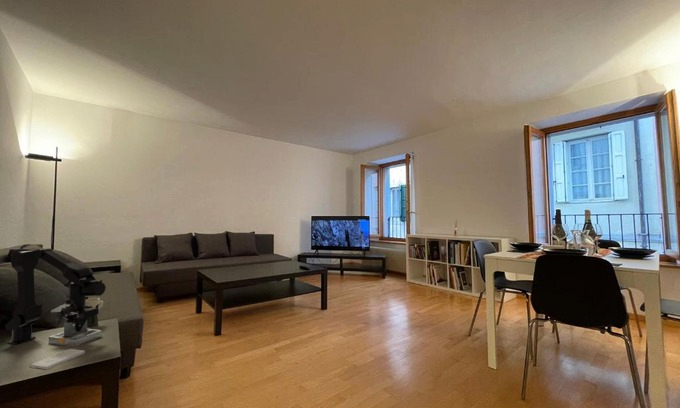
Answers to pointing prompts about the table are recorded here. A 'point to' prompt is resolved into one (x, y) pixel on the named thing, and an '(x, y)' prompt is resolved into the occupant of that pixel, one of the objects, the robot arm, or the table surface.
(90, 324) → the toy figurine
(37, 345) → the table surface
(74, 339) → the rack
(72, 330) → the dark grey block
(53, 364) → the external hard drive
